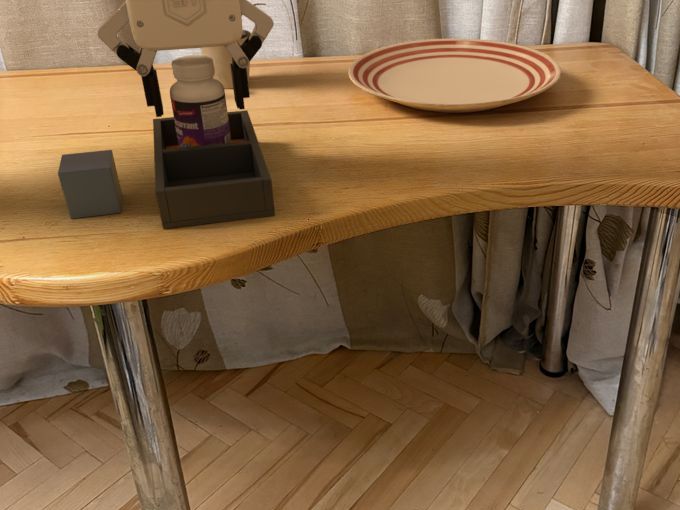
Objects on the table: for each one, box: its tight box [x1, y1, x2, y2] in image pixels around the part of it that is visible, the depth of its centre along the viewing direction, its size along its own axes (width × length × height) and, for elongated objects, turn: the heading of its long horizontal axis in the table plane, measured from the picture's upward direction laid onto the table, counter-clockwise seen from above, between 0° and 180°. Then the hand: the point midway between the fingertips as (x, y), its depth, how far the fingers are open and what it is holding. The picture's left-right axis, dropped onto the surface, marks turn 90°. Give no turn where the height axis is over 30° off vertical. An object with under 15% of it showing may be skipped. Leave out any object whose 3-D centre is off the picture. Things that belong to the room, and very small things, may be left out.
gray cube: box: [57, 149, 123, 220], centre depth 69 cm, size 4×4×4 cm
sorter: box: [152, 109, 276, 230], centre depth 74 cm, size 10×19×4 cm, turn 15°
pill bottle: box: [169, 54, 231, 148], centre depth 75 cm, size 5×5×10 cm
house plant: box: [199, 2, 269, 90], centre depth 98 cm, size 14×14×16 cm
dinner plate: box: [348, 38, 562, 114], centre depth 97 cm, size 28×27×3 cm
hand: (200, 107), depth 75 cm, fingers open, 7 cm apart
